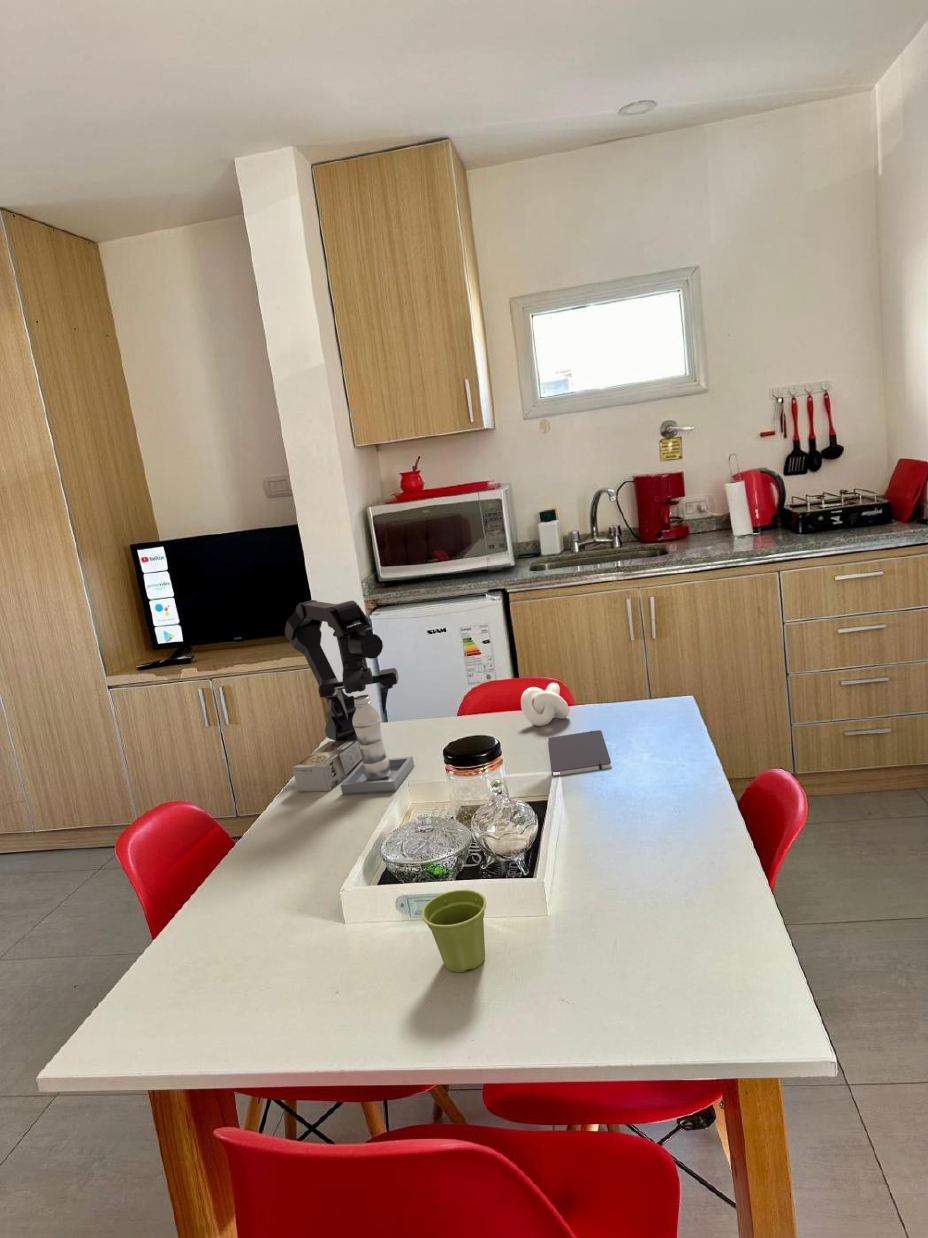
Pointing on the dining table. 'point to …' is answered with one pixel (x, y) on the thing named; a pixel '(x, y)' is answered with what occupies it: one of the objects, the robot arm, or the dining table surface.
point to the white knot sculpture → (543, 705)
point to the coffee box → (327, 766)
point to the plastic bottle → (370, 739)
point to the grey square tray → (362, 785)
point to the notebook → (578, 752)
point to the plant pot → (458, 928)
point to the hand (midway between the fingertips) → (365, 716)
